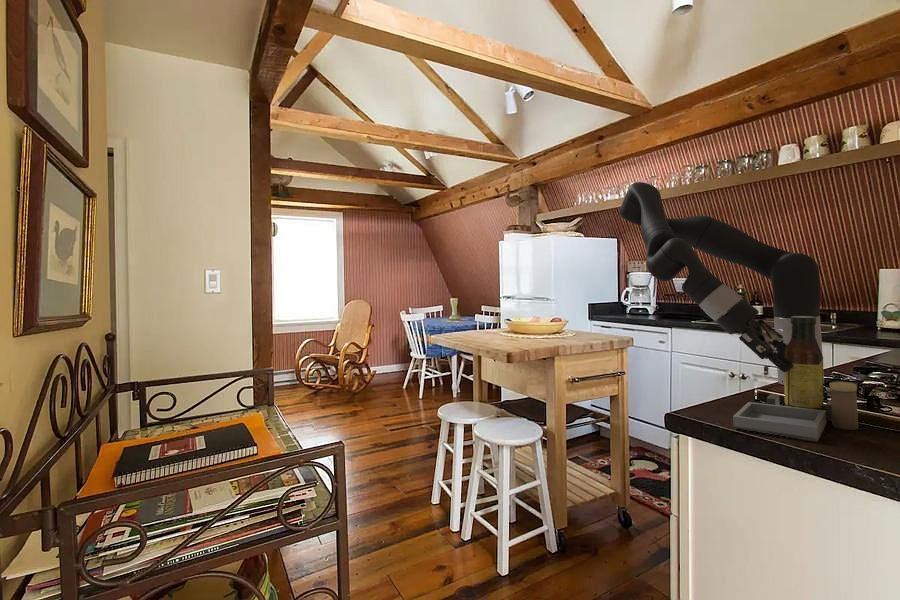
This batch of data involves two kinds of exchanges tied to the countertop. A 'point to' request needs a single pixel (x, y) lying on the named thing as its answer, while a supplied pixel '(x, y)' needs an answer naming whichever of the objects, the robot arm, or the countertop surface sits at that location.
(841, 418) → the lidded beige canister
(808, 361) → the sauce bottle
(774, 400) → the tray
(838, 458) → the countertop surface
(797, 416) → the tray
